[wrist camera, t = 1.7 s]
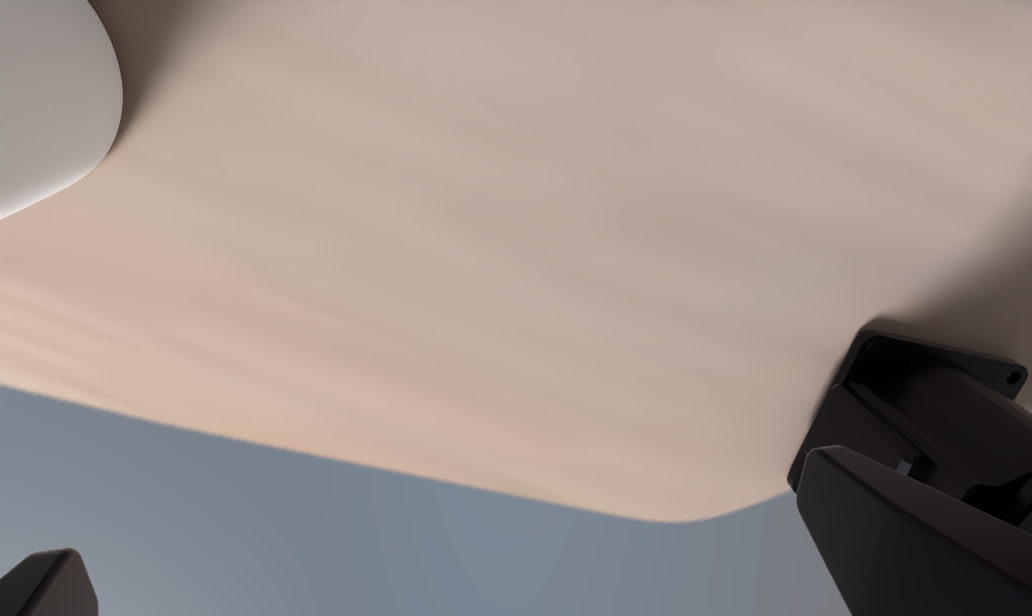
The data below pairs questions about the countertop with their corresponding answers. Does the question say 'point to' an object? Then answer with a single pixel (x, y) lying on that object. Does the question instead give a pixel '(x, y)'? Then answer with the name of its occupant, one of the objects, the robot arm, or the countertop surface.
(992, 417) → the robot arm
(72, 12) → the can
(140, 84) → the countertop surface
